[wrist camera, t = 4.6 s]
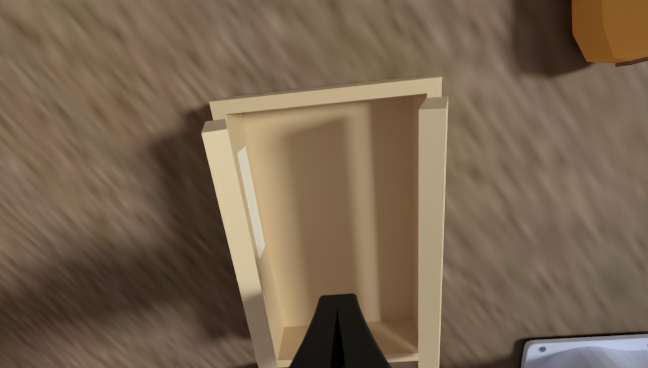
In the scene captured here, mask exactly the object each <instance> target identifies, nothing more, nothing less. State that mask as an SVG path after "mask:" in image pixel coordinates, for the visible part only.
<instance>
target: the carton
mask: <svg viewBox="0 0 648 368" xmlns="http://www.w3.org/2000/svg"><path fill="white" fill-rule="evenodd" d="M441 91H442V77H436V76H415V77H406V78H396V79H387V80H378V81H369V82H359V83H350V84H341V85H332V86H323V87H313V88H304V89H295V90H286V91H276V92H267V93H258V94H249V95H239V96H230V97H226V98H222V99H219V100H215V101H211V102H209V104H210V108H211V112H212V117H213V120H220V119H225V121H226V125H227V130H228V135H229V139H230V144H231V149H232V154H233V158H234V163H235V168H236V172H237V177H238V182H239V186H240V191H241V196H242V201H243V205H244V210H245V215H246V219H247V224H248V229H249V233H250V238H251V243H252V247H253V252H254V257H255V262H256V266H257V271H258V276H259V280H260V285H261V290H262V294H263V299H264V304H265V309H266V313H267V318H268V323H269V327H270V332H271V337H272V341H273V346H274V351H275V356H276V360H277V365H278V368H282V367H289V366H290V364H291V362H292V360H293V358H294V356H295V354H296V353H297V351H298V349H299V347H300V345H301V343H302V341H303V339H304V336H305V334H306V332H307V330H308V328H309V325H310V323H311V320H312V318H313V315H314V313H315V310H316V307H317V304H318V300H319V298H320V297H321V296H322V295H336V294H350V293H354V294H355V295H357V299H358V303H359V306H360V309H361V311H362V314H363V316H364V319H365V321H366V323H367V325H368V327H369V329H370V331H371V333H372V335H373V337H374V339H375V341H376V343H377V344H378V346H379V348H380V350H381V351H382V353H383V355H384V356H385V358H386V360H387V361H388V362H401V361H418V209H419V108H420V107H421V106H422V104H423V103H424V101H425V100H426V98H433V97H441Z"/></svg>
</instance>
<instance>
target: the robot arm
mask: <svg viewBox="0 0 648 368" xmlns="http://www.w3.org/2000/svg"><path fill="white" fill-rule="evenodd" d="M343 367H344V368H392V367H391V366H390V364H389V363H388V361H387V360H386V358H385V356H384V355H383V353H382V351H381V350H380V348H379V346H378V344H377V343H376V341H375V339H374V337H373V335H372V333H371V331H370V329H369V327H368V325H367V323H366V321H365V319H364V316H363V314H362V311H361V309H360V306H359V303H358V299H357V295H355V294H354V293H350V294H336V295H322V296H321V297H320V298H319V300H318V304H317V307H316V310H315V313H314V315H313V318H312V320H311V323H310V325H309V328H308V330H307V332H306V334H305V336H304V339H303V341H302V343H301V345H300V347H299V349H298V351H297V353H296V354H295V356H294V358H293V360H292V362H291V364H290V366H289V367H288V368H343ZM521 368H648V334H638V335H619V336H601V337H582V338H563V339H545V340H530V341H528V342H526V343H525V345H524V350H523V356H522V363H521Z"/></svg>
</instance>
